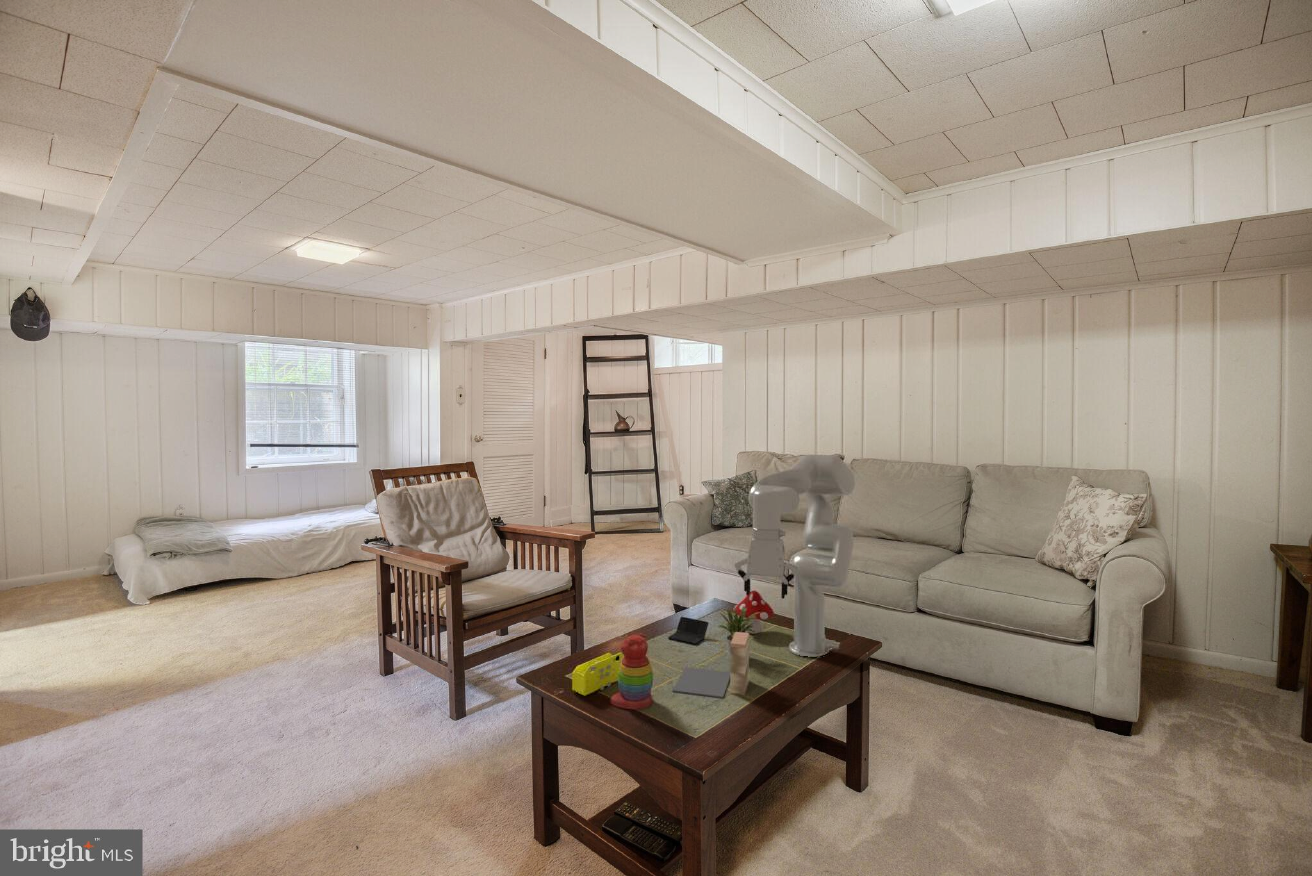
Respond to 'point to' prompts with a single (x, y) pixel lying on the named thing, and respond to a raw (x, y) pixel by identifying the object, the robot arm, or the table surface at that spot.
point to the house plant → (736, 625)
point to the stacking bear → (634, 675)
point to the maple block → (739, 663)
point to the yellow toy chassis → (596, 673)
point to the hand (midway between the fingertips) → (765, 595)
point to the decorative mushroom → (754, 610)
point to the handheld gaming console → (690, 631)
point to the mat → (702, 682)
